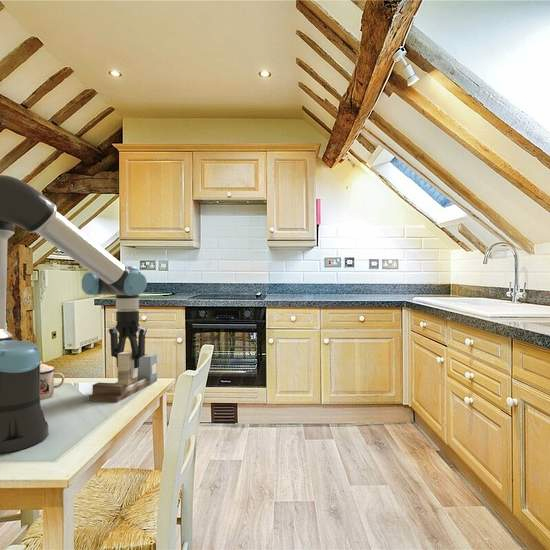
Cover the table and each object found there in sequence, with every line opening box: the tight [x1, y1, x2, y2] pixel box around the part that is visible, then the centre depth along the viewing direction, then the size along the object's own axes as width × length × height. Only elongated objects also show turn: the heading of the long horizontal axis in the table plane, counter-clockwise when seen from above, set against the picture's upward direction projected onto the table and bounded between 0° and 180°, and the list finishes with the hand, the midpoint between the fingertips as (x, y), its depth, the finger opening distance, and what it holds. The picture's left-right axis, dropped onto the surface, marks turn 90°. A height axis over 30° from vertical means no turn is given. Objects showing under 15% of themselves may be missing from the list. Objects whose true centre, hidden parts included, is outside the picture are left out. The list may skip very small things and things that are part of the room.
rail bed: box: [88, 378, 158, 403], centre depth 139 cm, size 26×10×4 cm, turn 169°
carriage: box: [117, 350, 138, 386], centre depth 141 cm, size 6×4×11 cm, turn 169°
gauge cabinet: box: [138, 353, 158, 385], centre depth 150 cm, size 5×10×10 cm, turn 79°
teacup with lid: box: [40, 360, 65, 401], centre depth 133 cm, size 12×9×12 cm
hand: (128, 376), depth 141 cm, fingers closed on carriage, 4 cm apart
